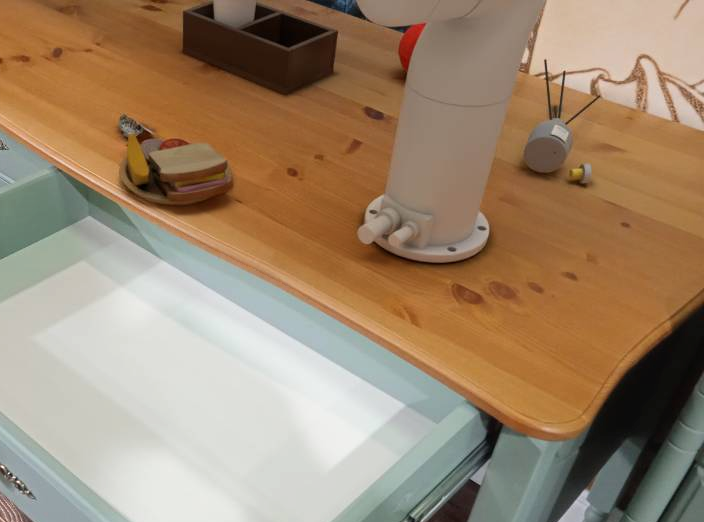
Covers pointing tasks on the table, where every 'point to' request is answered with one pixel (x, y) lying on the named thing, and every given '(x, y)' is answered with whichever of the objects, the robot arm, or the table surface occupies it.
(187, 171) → the toy sandwich meal
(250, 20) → the tall white cup
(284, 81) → the divided wooden box
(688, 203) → the table surface
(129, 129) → the silver ridged wedge
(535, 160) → the reed diffuser
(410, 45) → the apple
